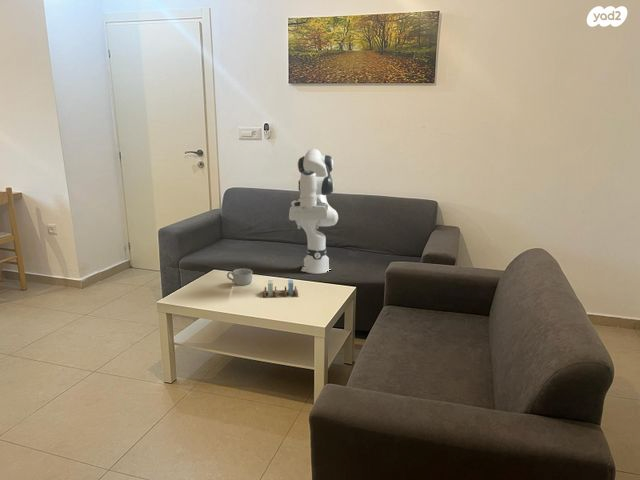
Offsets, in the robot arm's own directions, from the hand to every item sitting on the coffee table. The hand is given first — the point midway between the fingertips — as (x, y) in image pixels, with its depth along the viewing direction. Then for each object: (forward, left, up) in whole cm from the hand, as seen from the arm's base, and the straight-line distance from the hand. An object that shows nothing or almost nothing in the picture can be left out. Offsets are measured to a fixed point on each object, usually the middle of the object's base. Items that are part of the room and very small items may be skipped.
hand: (308, 228), depth 247 cm
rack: (+11, -15, -33) cm, 38 cm away
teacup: (-10, -37, -33) cm, 51 cm away
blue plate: (+11, -10, -32) cm, 35 cm away
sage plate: (+11, -20, -32) cm, 39 cm away
